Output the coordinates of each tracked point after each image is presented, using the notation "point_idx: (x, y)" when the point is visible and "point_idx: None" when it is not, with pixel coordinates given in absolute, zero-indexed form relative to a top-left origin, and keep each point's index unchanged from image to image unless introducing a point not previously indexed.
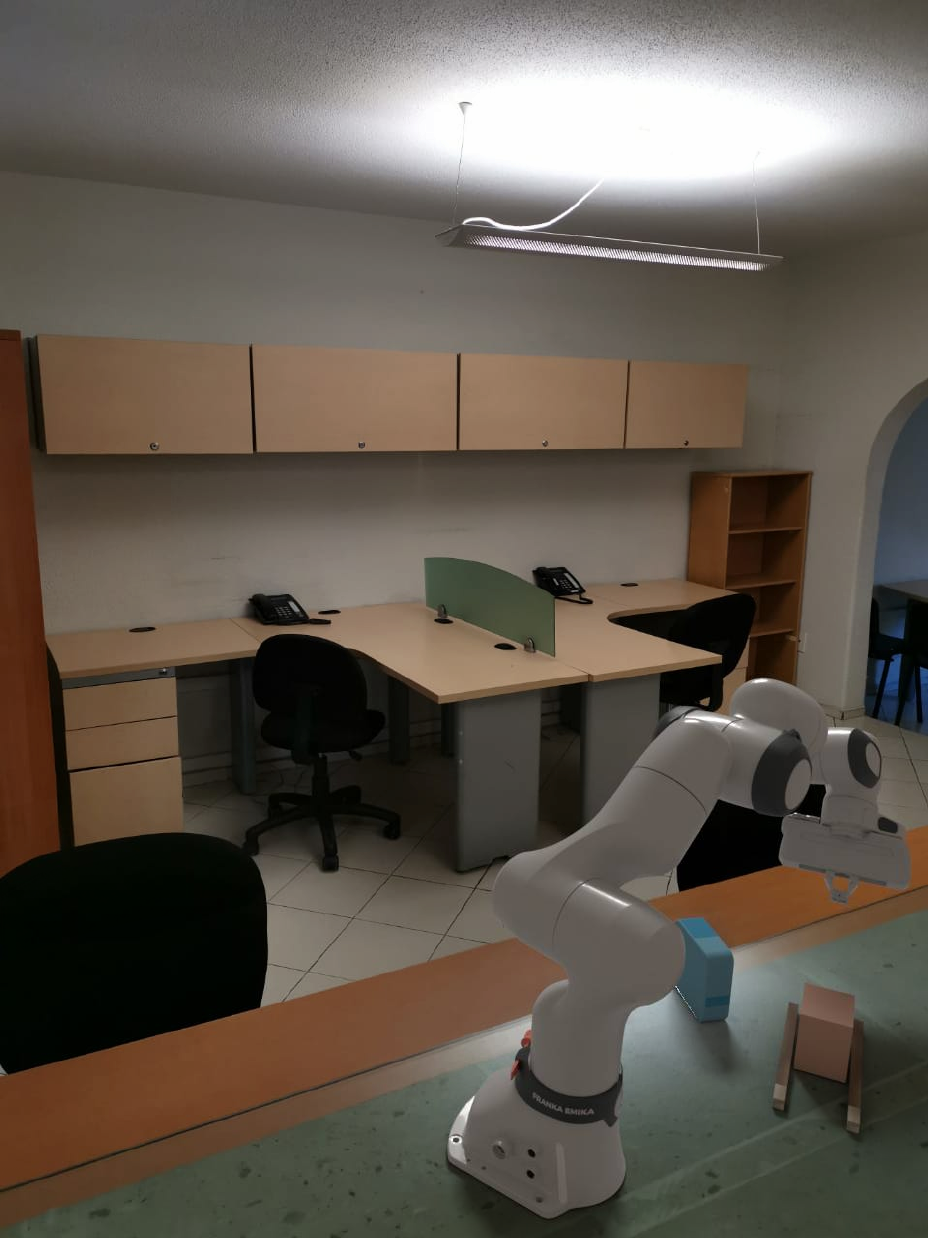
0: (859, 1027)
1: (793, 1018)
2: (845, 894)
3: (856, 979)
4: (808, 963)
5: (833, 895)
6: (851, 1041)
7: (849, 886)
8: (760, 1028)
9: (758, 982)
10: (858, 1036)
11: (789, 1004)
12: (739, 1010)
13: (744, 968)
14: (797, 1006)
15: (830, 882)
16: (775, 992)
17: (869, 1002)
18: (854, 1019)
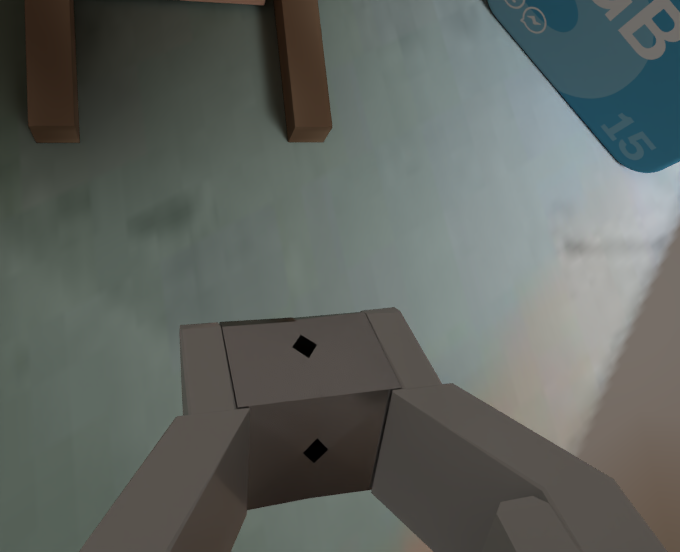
0: (44, 79)
1: (297, 32)
2: (239, 375)
3: (88, 528)
4: (313, 527)
5: (370, 329)
6: (73, 33)
7: (212, 475)
8: (381, 7)
9: (454, 265)
10: (44, 17)
11: (327, 112)
12: (462, 72)
13: (520, 330)
14: (297, 110)
15: (491, 432)
16: (386, 233)
17: (15, 363)
18: (69, 123)
